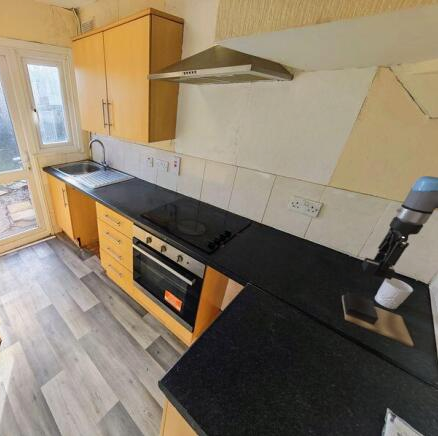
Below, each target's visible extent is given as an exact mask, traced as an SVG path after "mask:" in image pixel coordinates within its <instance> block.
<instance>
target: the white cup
mask: <svg viewBox="0 0 438 436" xmlns="http://www.w3.org/2000/svg"><path fill="white" fill-rule="evenodd" d="M413 292H414V288H413V287H412V286H410V284H408V283H406V282H404V281H402V280H400V279H397V278H394V277H392V279H391V280H389V279H386V278H384V280H383V281H382V283H381V284H380V287H379V288H378V290H377V292H376V295H375V296H374V300H375V302H376V303H377V304H379V305H380V306H382V307H385V308H387V309H391V310H397V308H398V307H399V306H400V305H402V304H403V303H404V302H405V301H406V300H407V298H408V297H409V296H410V295H411V294H412V293H413Z"/></svg>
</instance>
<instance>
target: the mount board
mask: <svg viewBox="0 0 438 436" xmlns="http://www.w3.org/2000/svg"><path fill="white" fill-rule="evenodd" d="M341 302H342V308H343V314H344V320H345V321H346V322H347V321H348V322H349V323H352V324H355V325H357V326H360V327H362V328H365V329H367V330H370V331H372V332H375V333H377V334H378V335H382V336H385V337H386V338H390V339H392V340H394V341H396V342H400V343H402V344H404V345H407V346H408V347H409V346H410V347H414V346H415V344H414V342H413V340H412V337H411V335H410V332H409V330H408V328H407V326H406V324H405V321H404V319H403V317H402V315H399V314H396V313H393V312H390V311H388V310H385V309H382V308H379V307H377V306H375V303H374V301H373V300H371V299H369V298H366V297H363V296H360V295H358V294H354V293H352V292H350V291H346V293H345V294H343V295H341Z"/></svg>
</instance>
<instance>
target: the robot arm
mask: <svg viewBox="0 0 438 436" xmlns="http://www.w3.org/2000/svg"><path fill="white" fill-rule="evenodd" d="M436 209H438V176H431V175H430V176H429V175H424V176H423V175H422V176H420V177H419V178H417V180H416V181H415V182H414V183H413V184H412V186H411V187H410V190H409V191H408V193H407V195H406V197H405V198H404V201H403V202H402V204H401V205H400V207H399V208H397V209H396V214H395V216H394V217H393V218H392V220H391V221H390V223H389V229H388V231H387V233H386V235H385V236H384V237H383V240H382V241H381V242H380V244H379V245H378V247H377V249H378V251H377V253H376V255H375V256H374V258H373V260H376V261H380V263H379V265H378V267H377V268H376V270H375V271H374V273H373V274H372V275H373V276H376V277H379V278H383V276H384V274H385V273H386V272H387V270H388V269H389V267H390V266H391V265H392V266H393V267H395V266H396V264H397V263H398V261H399V260H400V258H401V257H402V255H403V253H404V252H405V250H406V249H407V248H408V247H409V246H410V243H409V242H408V241H409V236H410V235H418V234H420V232H421V230H422V229H423V228H424V225H425V224H426V223H427V222H428V221H429V219H430V217H431V216H432V215H433V213H434V211H435V210H436Z"/></svg>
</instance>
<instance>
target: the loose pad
mask: <svg viewBox="0 0 438 436" xmlns="http://www.w3.org/2000/svg"><path fill="white" fill-rule="evenodd" d="M379 263H380V261H376V260H374V258H369V257H365V258H364V260H363V262H362V263H361V266H362V269H363V270H362V271H363V272H364V273H367V274H370V275H373V273H374V271H375V270H376V268H377V267H378V265H379ZM395 275H396V270H395V267H394V266H392V265H391V266H390V267H389V269H388V270H387V272H386V273H385V274H384V276H383V277H382V279H385V278H386V279H389V280H391V279H392V278H394V276H395Z"/></svg>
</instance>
